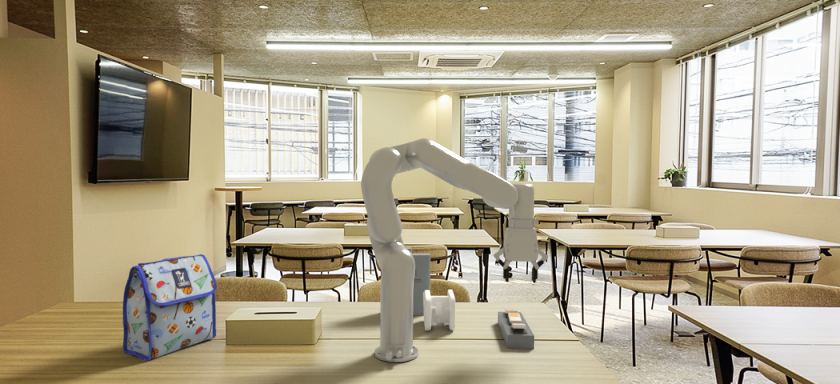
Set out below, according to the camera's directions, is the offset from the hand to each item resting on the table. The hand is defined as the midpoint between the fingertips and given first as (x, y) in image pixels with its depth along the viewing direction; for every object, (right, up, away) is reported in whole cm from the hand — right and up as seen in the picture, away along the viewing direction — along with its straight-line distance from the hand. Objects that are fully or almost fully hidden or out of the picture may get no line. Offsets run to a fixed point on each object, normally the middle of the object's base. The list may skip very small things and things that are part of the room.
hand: (520, 281), depth 149 cm
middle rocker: (0, -14, +10) cm, 17 cm away
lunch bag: (-105, -19, -3) cm, 107 cm away
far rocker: (+1, -14, +18) cm, 23 cm away
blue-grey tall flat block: (-36, -19, +34) cm, 53 cm away
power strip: (+1, -19, +15) cm, 25 cm away
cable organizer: (-24, -19, +19) cm, 36 cm away
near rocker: (0, -14, +2) cm, 15 cm away
